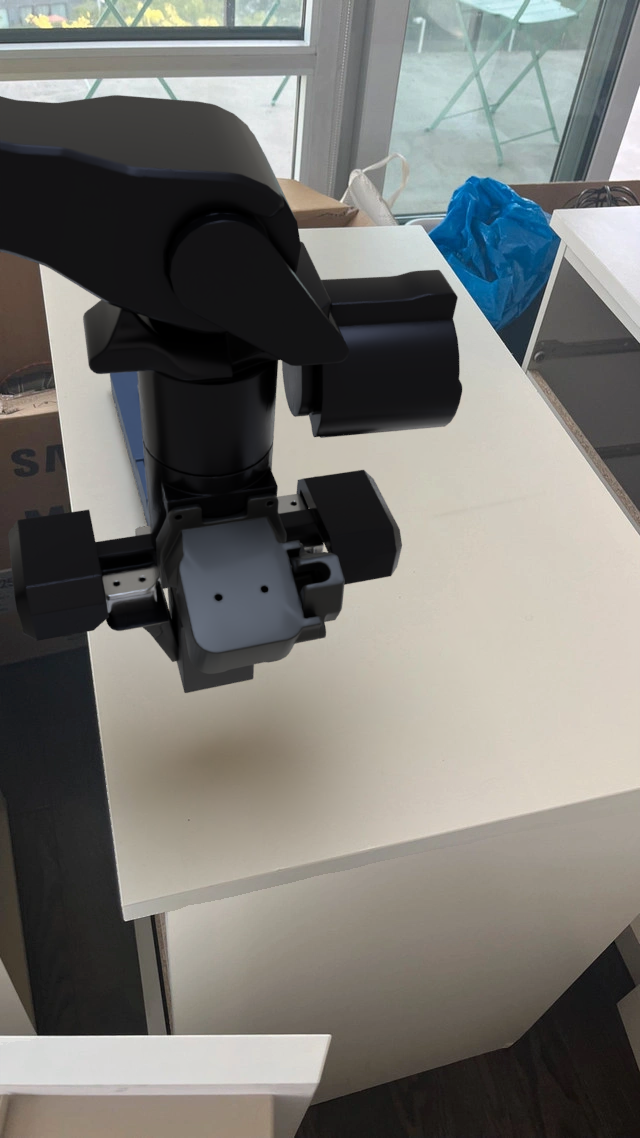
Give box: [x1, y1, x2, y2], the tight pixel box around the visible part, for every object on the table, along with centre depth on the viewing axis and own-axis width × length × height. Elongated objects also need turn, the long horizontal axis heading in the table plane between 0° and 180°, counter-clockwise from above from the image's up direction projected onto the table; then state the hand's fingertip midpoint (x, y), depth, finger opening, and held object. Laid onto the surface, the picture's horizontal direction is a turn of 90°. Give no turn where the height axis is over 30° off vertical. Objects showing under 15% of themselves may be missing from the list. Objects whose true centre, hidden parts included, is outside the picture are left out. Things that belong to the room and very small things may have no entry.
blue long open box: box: [109, 372, 150, 526], centre depth 75 cm, size 6×20×4 cm, turn 18°
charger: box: [167, 587, 255, 694], centre depth 47 cm, size 4×4×6 cm
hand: (211, 648), depth 49 cm, fingers closed on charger, 4 cm apart
